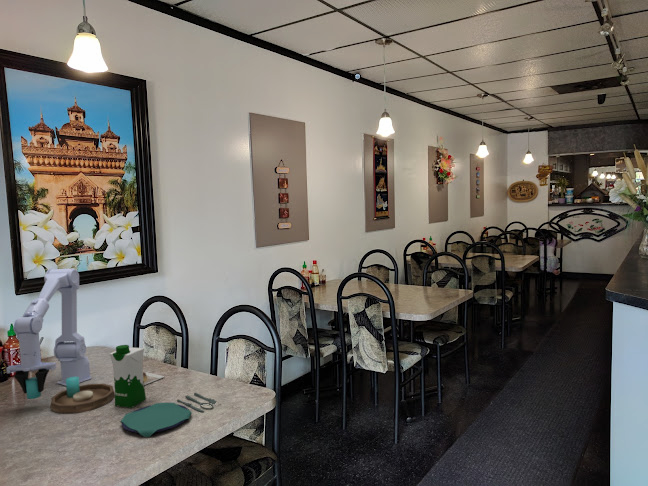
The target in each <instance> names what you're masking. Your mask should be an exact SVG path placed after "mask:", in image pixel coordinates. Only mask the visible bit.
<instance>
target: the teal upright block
mask: <svg viewBox="0 0 648 486" xmlns="http://www.w3.org/2000/svg"><path fill="white" fill-rule="evenodd" d="M79 386H80V383H79V377H70V378H67V379H66V386H65V387H66V390H67V397H69V398H72V397H73V395H74V394H76V393H78V392H80V387H79Z"/></svg>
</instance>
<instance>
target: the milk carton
mask: <svg viewBox="0 0 648 486" xmlns="http://www.w3.org/2000/svg"><path fill="white" fill-rule="evenodd" d="M144 351H145V348H143V347H142V348H141V347H130V345H129V344H122V345H121V344H120V345H117V346H116V347H115V351H113V352H111V353H109V356H110V360H111V363H112V367H113V381H114V382H113V383H114V386H113V387H114V394H115V397H114V406H115V407H123V408H129V409H132V408H133V407H136V406H137V405H139V404H141V403H143V402H145V401H146V400H147V395H146V390H145V385H144V384H145V382H144V380H143V370H144V367H143V358H144V353H145V352H144Z"/></svg>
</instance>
